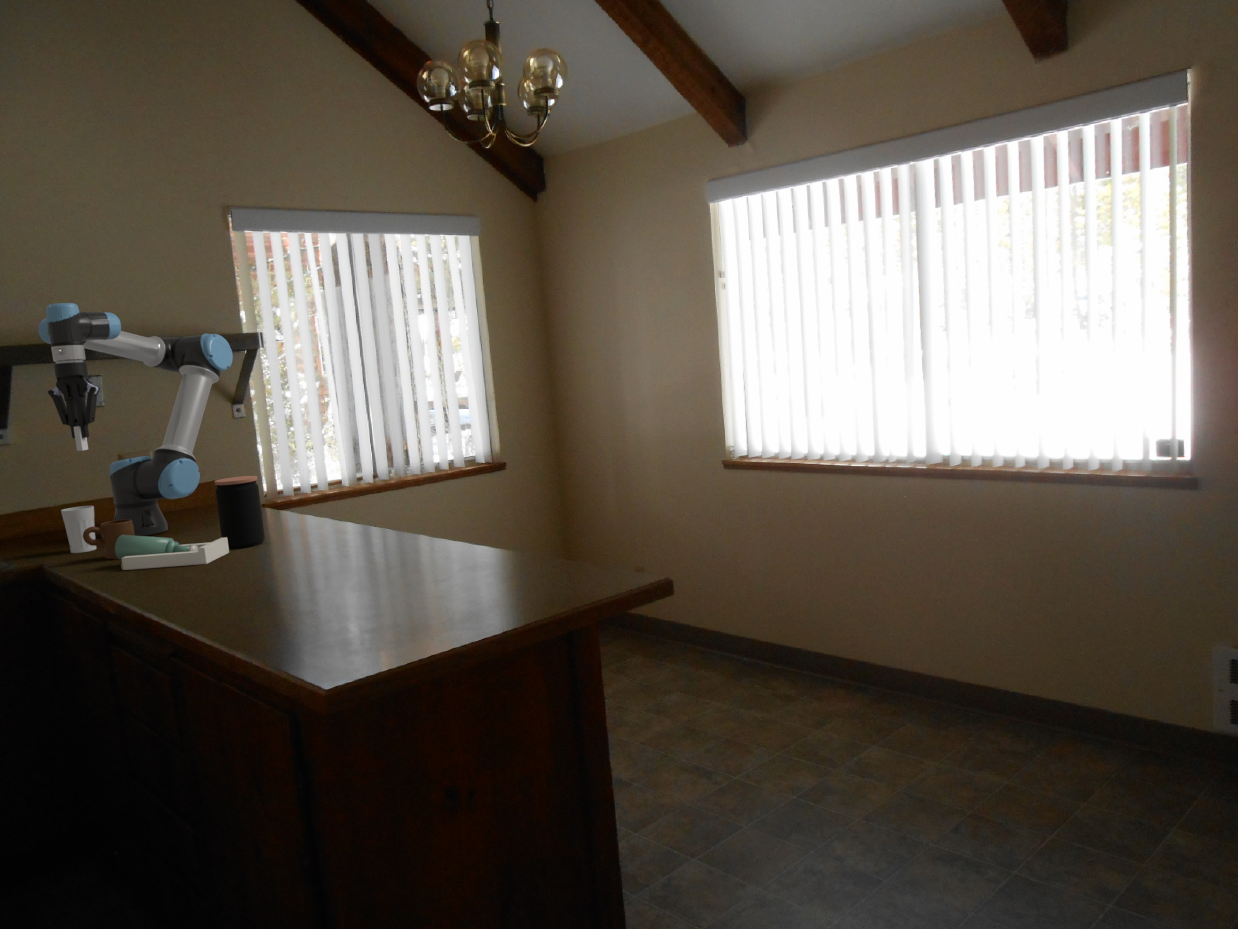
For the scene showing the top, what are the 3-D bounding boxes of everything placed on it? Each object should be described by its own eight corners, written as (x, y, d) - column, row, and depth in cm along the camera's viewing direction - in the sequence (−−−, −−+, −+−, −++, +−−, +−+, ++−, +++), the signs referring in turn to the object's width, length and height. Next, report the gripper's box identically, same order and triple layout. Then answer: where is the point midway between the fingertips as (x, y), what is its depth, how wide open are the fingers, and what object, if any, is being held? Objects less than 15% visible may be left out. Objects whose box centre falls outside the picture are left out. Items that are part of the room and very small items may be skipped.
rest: (146, 558, 239) (144, 543, 238) (229, 552, 238) (227, 537, 238) (119, 570, 226) (116, 554, 225) (206, 563, 225) (204, 547, 225)
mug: (91, 564, 236) (85, 528, 235) (82, 561, 242) (77, 526, 241) (141, 555, 245) (136, 520, 243) (132, 552, 250) (127, 518, 249)
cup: (89, 552, 255) (83, 509, 254) (61, 554, 256) (54, 511, 254) (105, 546, 263) (99, 504, 262) (78, 548, 263) (72, 507, 262)
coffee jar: (272, 539, 252) (264, 474, 250) (253, 548, 242) (245, 480, 240) (235, 542, 253) (227, 477, 251) (214, 550, 243) (206, 482, 241)
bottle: (128, 532, 234) (200, 537, 234) (128, 555, 235) (200, 560, 235) (114, 537, 228) (189, 542, 228) (115, 561, 229) (189, 566, 229)
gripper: (36, 364, 243) (50, 453, 245) (85, 360, 242) (98, 449, 245) (54, 364, 250) (67, 450, 253) (101, 360, 250) (114, 447, 253)
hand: (82, 450), depth 249 cm, fingers closed
